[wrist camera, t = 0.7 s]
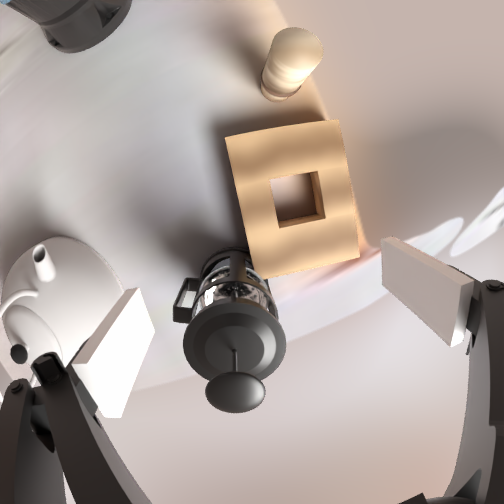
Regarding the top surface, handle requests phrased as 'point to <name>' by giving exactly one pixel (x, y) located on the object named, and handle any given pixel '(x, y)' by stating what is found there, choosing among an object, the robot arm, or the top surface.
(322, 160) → the board
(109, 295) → the kettle
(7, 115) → the top surface
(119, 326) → the robot arm
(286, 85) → the peg
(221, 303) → the french press
